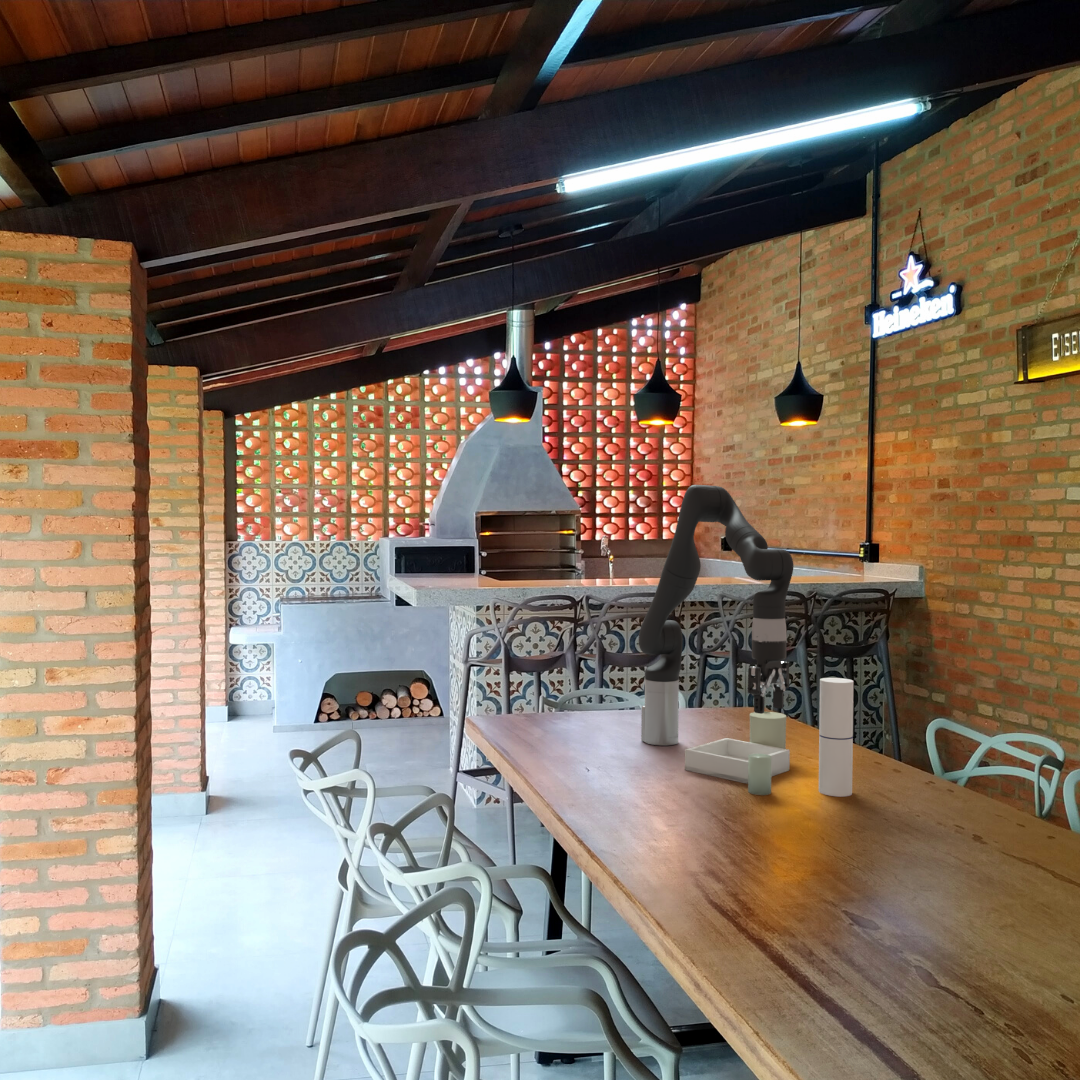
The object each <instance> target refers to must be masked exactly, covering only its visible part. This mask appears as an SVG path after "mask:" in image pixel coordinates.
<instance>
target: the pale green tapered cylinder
mask: <svg viewBox="0 0 1080 1080" xmlns="http://www.w3.org/2000/svg"><path fill="white" fill-rule="evenodd" d="M747 791H748V792H747V793H749V794H751V795H756V796H768V795H771V793H772V777H771V756H770V755H766V754H750V755H748V784H747Z"/></svg>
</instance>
